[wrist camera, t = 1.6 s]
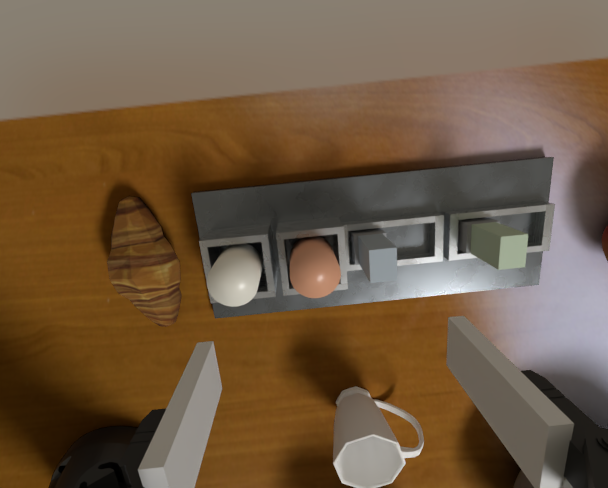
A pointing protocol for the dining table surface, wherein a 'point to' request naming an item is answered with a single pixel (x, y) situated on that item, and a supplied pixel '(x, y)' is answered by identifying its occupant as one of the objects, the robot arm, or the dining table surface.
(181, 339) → the dining table surface
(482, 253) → the slider sage
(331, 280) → the button terracotta
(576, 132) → the dining table surface
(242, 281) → the button cream
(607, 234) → the apple
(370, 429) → the cup
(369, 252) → the block
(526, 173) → the panel
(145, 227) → the croissant
